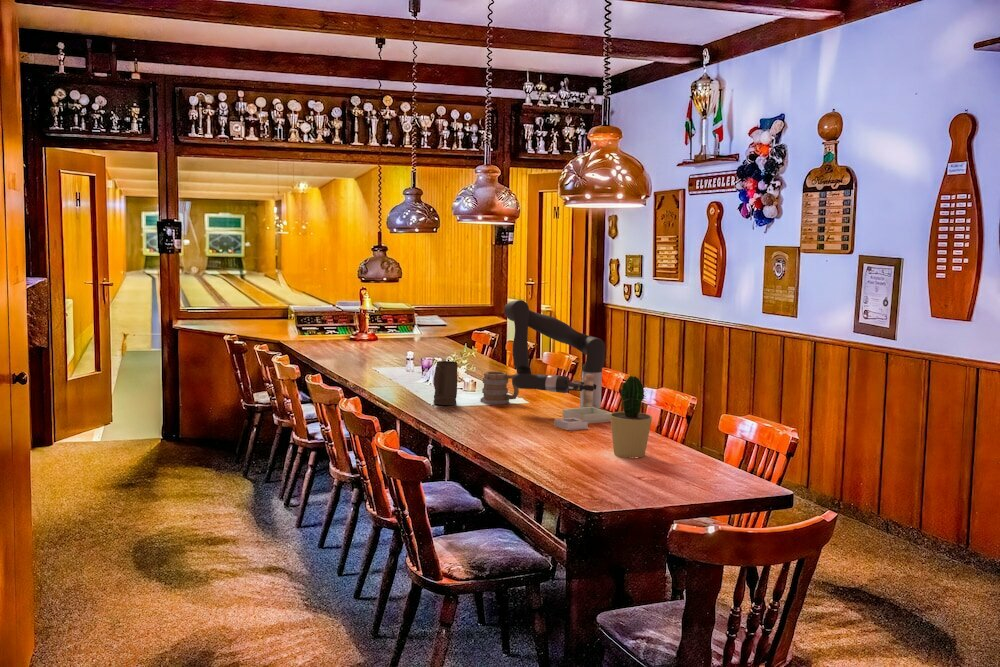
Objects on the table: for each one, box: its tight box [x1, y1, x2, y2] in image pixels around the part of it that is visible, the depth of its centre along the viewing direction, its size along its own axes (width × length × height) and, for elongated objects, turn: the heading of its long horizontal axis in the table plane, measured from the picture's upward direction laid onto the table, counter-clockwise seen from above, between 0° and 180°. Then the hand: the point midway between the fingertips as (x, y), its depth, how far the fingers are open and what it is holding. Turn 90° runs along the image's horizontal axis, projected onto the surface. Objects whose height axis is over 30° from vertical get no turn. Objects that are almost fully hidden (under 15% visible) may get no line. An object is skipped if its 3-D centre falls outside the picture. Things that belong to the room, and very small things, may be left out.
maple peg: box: [583, 374, 594, 407], centre depth 408 cm, size 4×4×14 cm
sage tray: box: [562, 407, 612, 424], centre depth 409 cm, size 16×16×4 cm
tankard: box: [480, 370, 520, 405], centre depth 442 cm, size 20×13×15 cm, turn 73°
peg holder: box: [554, 417, 589, 431], centre depth 391 cm, size 10×10×3 cm
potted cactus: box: [610, 374, 653, 459], centre depth 344 cm, size 15×15×30 cm
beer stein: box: [432, 360, 459, 406], centre depth 431 cm, size 15×11×20 cm
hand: (594, 387), depth 407 cm, fingers closed on maple peg, 4 cm apart
